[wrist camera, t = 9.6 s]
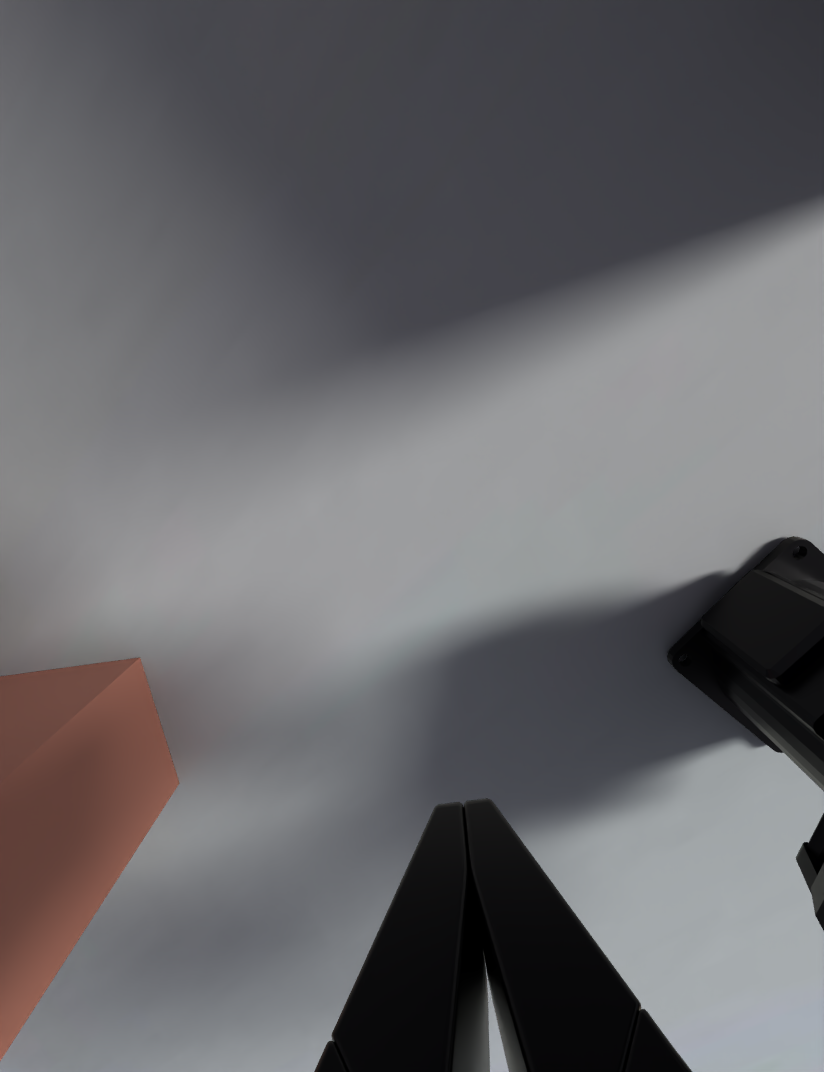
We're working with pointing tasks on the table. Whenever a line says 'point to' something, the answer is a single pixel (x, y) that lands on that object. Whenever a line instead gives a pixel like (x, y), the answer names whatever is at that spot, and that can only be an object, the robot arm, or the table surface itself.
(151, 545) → the table surface
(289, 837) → the table surface
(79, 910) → the book box
